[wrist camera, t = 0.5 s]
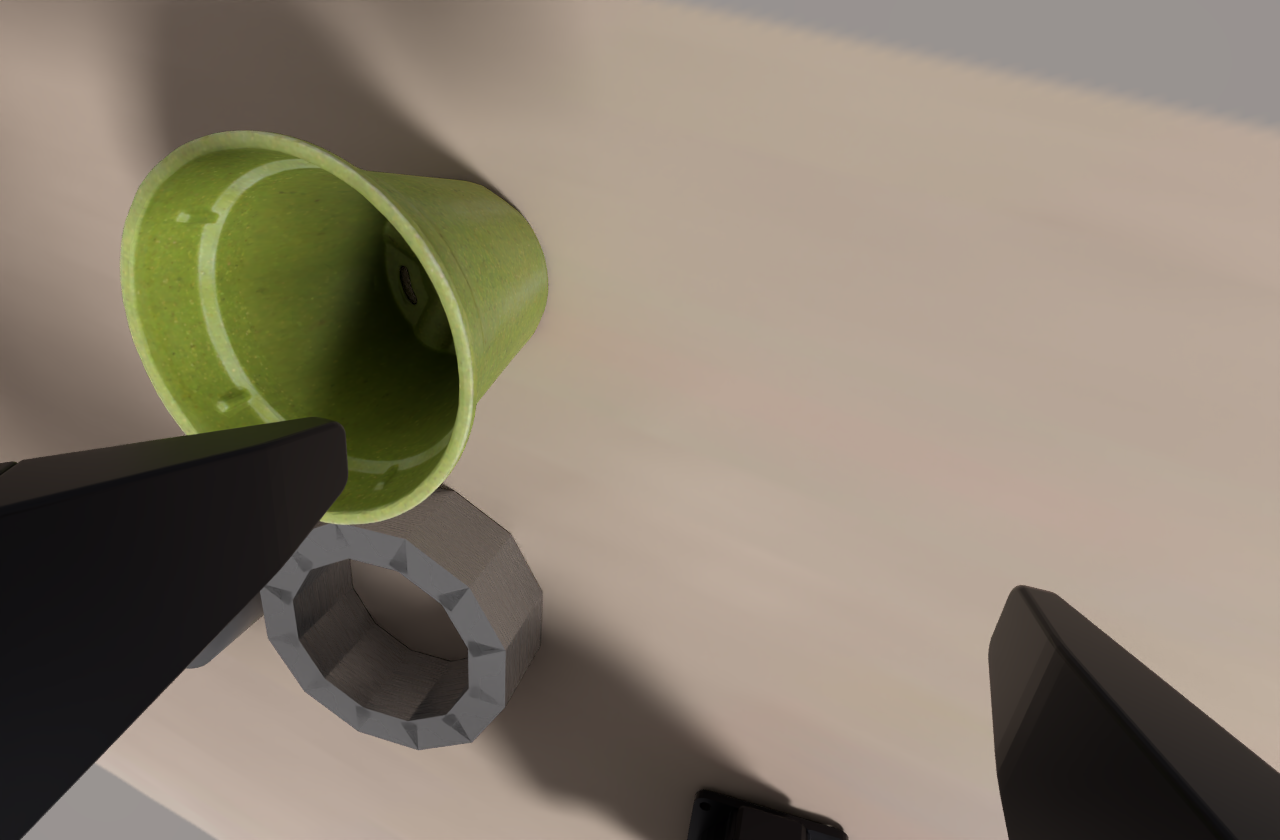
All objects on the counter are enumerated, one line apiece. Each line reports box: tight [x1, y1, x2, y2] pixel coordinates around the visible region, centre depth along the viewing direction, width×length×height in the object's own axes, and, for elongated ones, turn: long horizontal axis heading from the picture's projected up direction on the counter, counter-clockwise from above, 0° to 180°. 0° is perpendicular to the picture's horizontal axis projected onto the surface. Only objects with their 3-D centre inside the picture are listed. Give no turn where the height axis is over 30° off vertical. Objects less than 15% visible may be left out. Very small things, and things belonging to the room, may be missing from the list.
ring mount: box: [260, 488, 542, 750], centre depth 29 cm, size 10×10×4 cm
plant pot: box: [120, 130, 548, 525], centre depth 20 cm, size 9×9×9 cm
